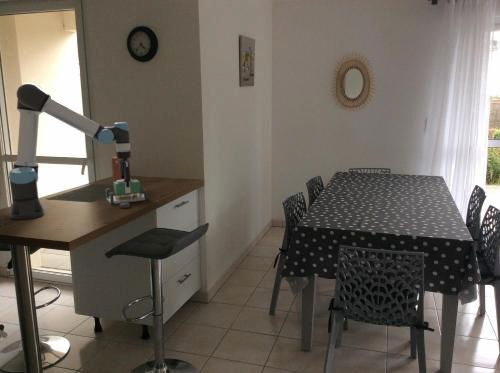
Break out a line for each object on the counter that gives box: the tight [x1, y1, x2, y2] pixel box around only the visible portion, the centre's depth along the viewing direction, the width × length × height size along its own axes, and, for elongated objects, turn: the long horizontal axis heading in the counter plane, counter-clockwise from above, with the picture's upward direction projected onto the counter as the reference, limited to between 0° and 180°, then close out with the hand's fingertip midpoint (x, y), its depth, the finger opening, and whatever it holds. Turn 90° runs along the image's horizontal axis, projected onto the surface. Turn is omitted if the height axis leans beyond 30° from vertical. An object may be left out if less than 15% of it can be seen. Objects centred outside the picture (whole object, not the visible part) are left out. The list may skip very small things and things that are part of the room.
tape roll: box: [119, 202, 131, 210], centre depth 241 cm, size 5×5×2 cm
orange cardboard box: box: [111, 155, 132, 186], centre depth 278 cm, size 21×7×15 cm
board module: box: [112, 178, 141, 196], centre depth 257 cm, size 13×7×7 cm, turn 117°
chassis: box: [105, 184, 149, 205], centre depth 257 cm, size 20×13×6 cm, turn 118°
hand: (126, 191), depth 257 cm, fingers closed on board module, 7 cm apart
